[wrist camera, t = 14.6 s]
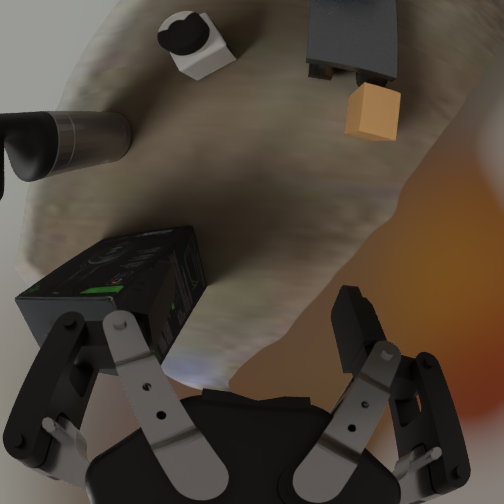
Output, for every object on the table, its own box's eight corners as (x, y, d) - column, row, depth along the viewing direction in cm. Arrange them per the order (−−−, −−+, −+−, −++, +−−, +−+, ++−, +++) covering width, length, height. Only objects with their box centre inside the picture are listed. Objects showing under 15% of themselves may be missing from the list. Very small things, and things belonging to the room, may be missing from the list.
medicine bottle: (238, 59, 33) (216, 31, 22) (197, 81, 36) (162, 63, 25) (218, 28, 31) (192, -4, 20) (180, 50, 34) (143, 27, 23)
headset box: (194, 223, 45) (97, 308, 21) (210, 287, 49) (146, 398, 25) (97, 239, 49) (3, 302, 26) (116, 291, 53) (39, 367, 30)
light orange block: (344, 134, 35) (359, 130, 26) (349, 96, 33) (364, 82, 24) (373, 141, 35) (395, 140, 26) (377, 103, 33) (400, 93, 24)
